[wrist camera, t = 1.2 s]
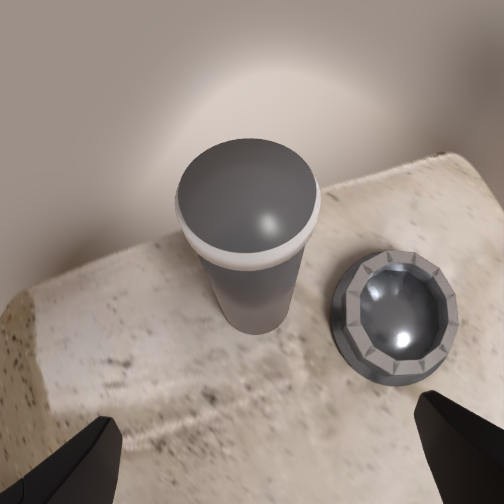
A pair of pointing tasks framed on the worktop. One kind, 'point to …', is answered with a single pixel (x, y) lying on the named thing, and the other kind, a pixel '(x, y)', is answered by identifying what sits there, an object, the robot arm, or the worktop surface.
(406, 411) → the worktop surface
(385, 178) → the worktop surface
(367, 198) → the worktop surface
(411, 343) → the mount ring
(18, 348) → the worktop surface
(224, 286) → the grey cylinder
